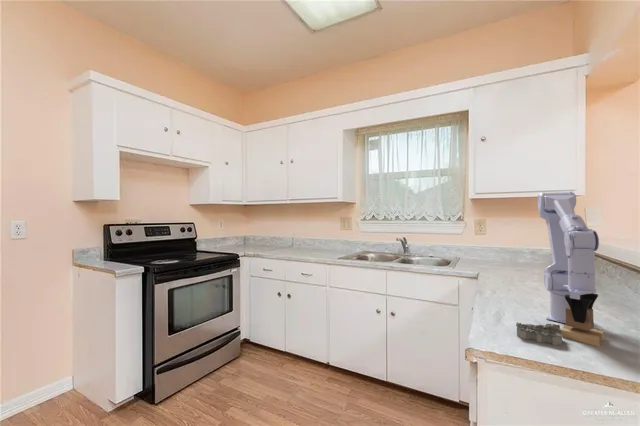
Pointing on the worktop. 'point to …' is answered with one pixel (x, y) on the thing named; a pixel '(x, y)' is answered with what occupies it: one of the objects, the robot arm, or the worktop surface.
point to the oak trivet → (583, 335)
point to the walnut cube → (585, 326)
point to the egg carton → (540, 333)
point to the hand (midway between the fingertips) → (581, 319)
